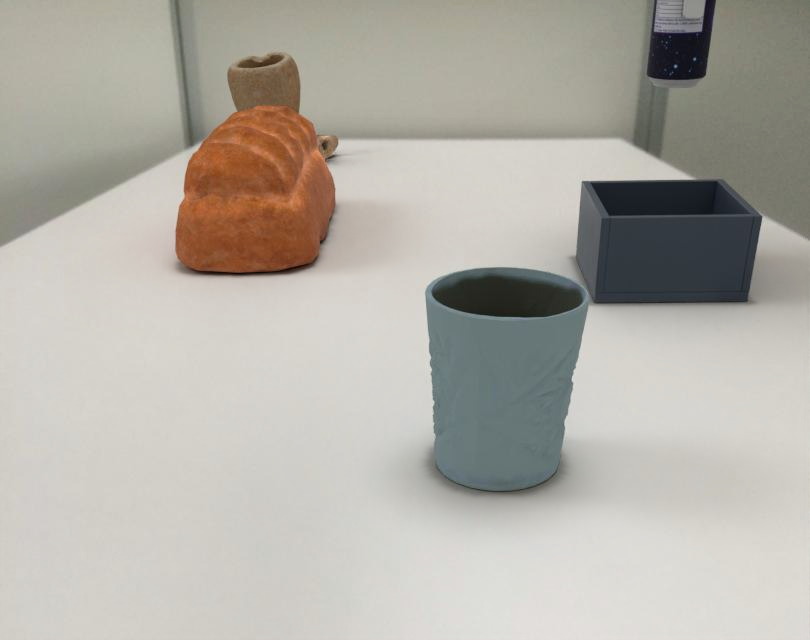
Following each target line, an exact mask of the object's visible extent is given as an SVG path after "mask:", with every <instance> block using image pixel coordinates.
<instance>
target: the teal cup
mask: <svg viewBox="0 0 810 640" xmlns="http://www.w3.org/2000/svg"><path fill="white" fill-rule="evenodd" d="M424 294H425V295H424V296H425V309H426V323H427V324H426V325H427V333H428V340H429V341H428V353H429V355H430V360H429V366H430V368H431V371H430V377H431V385H432V386H431V387H432V388H431V389H432V390H431V393H432V395H431V396H432V401H433V402H434V403H433V405H432V410H433V411H432V413H433V414H432V423H433V433H434V435H435V436H434V442H433V448H434V459H435V463H436V466H437V469H438V470H439V471H440V473H441V474H442V475H443V476H445V477H446V478H447V479H449V480H451V481H452V482H453V483H456V484H458V485H460V486H461V485H462V486H465V487H468V488H471V489H475V490H476V489H477V490H482V491H492V492H508V491H509V492H510V491H511V492H512V491H518V490H524V489H528V488H532V487H535V486H537V485H539V484H541V483H544V482H545V481H548V480H549V479H550V478H552V476H554V474H555V473H556V472H557V469H558V468H559V465H560V460H561V456H562V449H563V443H564V437H565V434H566V433H565V432H566V425H565V421H566V419H567V417H568V416H569V408H570V405H571V398H572V393H573V391H574V382H573V380H572V379H573V376H574V374H575V373H574V370H576V368H577V363H578V359H579V356H580V350H581V346H582V341H583V335H584V330H585V327H586V321H587V316H588V311H589V306H590V302H591V298H590V297H591V296H590V295H589V290H588V289H586V287H585V286H584V285H583V284H581V283H580V282H578V281H576V280H575V279H573V278H571V277H567V276H566V275H565V276H564V275H561V274H557V273H554V272H550V271H545V270H540V269H539V270H538V269H533V268H527V267H525V268H524V267H515V266H514V267H513V266H512V267H510V266H490V267H489V266H488V267H487V266H486V267H473V268H467V269H462V270H458V271H457V270H456V271H453V272H451V273H446V274H444V275H441V276H439V277H437V278H436V279H433V280H432V281H431V282H430V283H429V284H428V285H427V286H426V288H425V292H424Z"/></svg>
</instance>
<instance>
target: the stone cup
mask: <svg viewBox="0 0 810 640" xmlns="http://www.w3.org/2000/svg"><path fill="white" fill-rule="evenodd" d="M226 76H227V84H228V89H229V92H230V95H231V99H232V102H233V105H234V107H235V109H236V112H237V111H245V110H249V109H253V108H254V107H256V106H286V107H289V108H290V109H292V110H294V111H295V112H297V113H299V114H300V108H301V107H300V106H301V90H302V89H301V78H300V77H301V76H300V72H299V67H298V65H297V63H296V61H295V59H294V58H293V57H292V56H291V54H289V53H287V52H285V51H271V52H269V53H266V54H265V55H262V56H257V55H249V56H248V55H247V56H245V57H241V58H240V59H238V60H236V61H235V62H233V63H231V64H230V65H229V67H228V68H227V75H226ZM316 135H317V141H318V145H319V146H318V150H319V152H320V153H321V155H322V156H323V158H324V159H325V160H327V159H328V158H329V157H331V156H332V155H333V153H335V151H336V150H337V148H338V146H339V143H340V142H339V137H338V136H337V135H332V134H331V135H329V134H328V135H327V134H316Z"/></svg>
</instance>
